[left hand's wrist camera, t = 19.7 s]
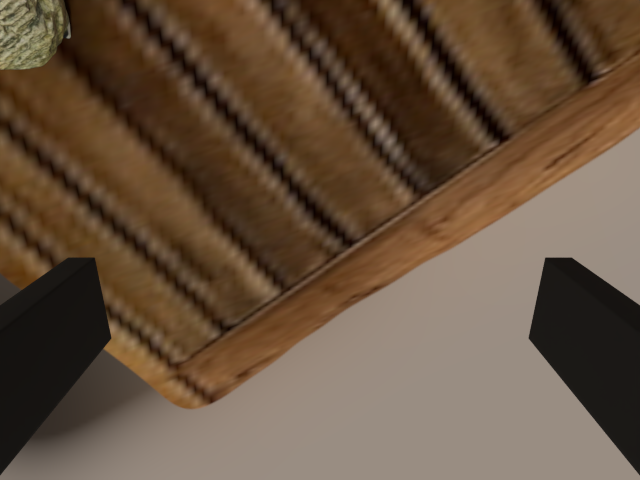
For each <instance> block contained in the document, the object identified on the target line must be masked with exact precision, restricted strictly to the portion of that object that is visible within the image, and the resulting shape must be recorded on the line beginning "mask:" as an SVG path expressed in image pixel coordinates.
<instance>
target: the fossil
mask: <svg viewBox="0 0 640 480" xmlns="http://www.w3.org/2000/svg"><path fill="white" fill-rule="evenodd" d="M70 37H71V33H70V23H69V17H68V14H67V11H66V8H65V3H64V0H0V70H3V69H18V70H19V69H30V68H34V67H41V66H43V65H45V64H46V63H47V62H48V61H49V59H50V58H51V57H52V56H53V55H54V54H55V53H56V50H57V46H58V45H59V44H60V43H61V42H62V39H63V38H70Z"/></svg>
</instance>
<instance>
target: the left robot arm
mask: <svg viewBox="0 0 640 480" xmlns="http://www.w3.org/2000/svg"><path fill="white" fill-rule="evenodd" d="M110 339H111V334H110V329H109V324H108V320H107V315H106V310H105V305H104V300H103V296H102V291H101V286H100V281H99V276H98V271H97V267H96V262H95V258H67V259H66V260H64V261H63V262H61V263H60V264H59V265H57V266H56V267H54V268H53V269H51V270H50V271H49V272H47V273H46V274H44V275H43V276H41V277H40V278H39V279H37V280H36V281H34V282H33V283H31V284H30V285H29V286H27V287H26V288H24V289H23V290H21V291H20V292H19V293H17V294H16V295H14V296H13V297H12V298H10V299H9V300H7V301H6V302H4V303H3V304H2V305H0V475H1V474H2V472H3V471H4V470H5V469H6V467H7V466H8V465H9V464H10V463H11V461H12V460H13V459H14V458H15V456H16V455H17V454H18V453H19V451H20V450H21V449H22V448H23V446H24V445H25V444H26V443H27V442H28V440H29V439H30V438H31V437H32V435H33V434H34V433H35V432H36V431H37V429H38V428H39V427H40V425H41V424H42V423H43V422H44V421H45V419H46V418H47V417H48V416H49V414H50V413H51V412H52V411H53V410H54V408H55V407H56V406H57V405H58V403H59V402H60V401H61V400H62V399H63V397H64V396H65V395H66V393H67V392H68V391H69V390H70V389H71V387H72V386H73V385H74V384H75V382H76V381H77V380H78V379H79V378H80V376H81V375H82V374H83V373H84V371H85V370H86V369H87V368H88V366H89V365H90V364H91V363H92V362H93V360H94V359H95V358H96V357H97V355H98V354H99V353H100V352H101V350H102V349H103V348H104V347H105V346H106V344H107V343H108V342H109V341H110ZM529 339H530V341H531V342H532V343H533V344H534V346H535V347H536V348H537V349H538V350H539V352H540V353H541V354H542V355H543V357H544V358H545V359H546V360H547V362H548V363H549V364H550V365H551V366H552V368H553V369H554V370H555V371H556V373H557V374H558V375H559V376H560V378H561V379H562V380H563V381H564V383H565V384H566V385H567V386H568V387H569V389H570V390H571V391H572V392H573V394H574V395H575V396H576V397H577V399H578V400H579V401H580V402H581V403H582V405H583V406H584V407H585V408H586V410H587V411H588V412H589V413H590V415H591V416H592V417H593V418H594V419H595V421H596V422H597V423H598V424H599V426H600V427H601V428H602V429H603V430H604V432H605V433H606V434H607V435H608V437H609V438H610V439H611V440H612V442H613V443H614V444H615V445H616V447H617V448H618V449H619V450H620V451H621V453H622V454H623V455H624V456H625V458H626V459H627V460H628V461H629V463H630V464H631V465H632V466H633V467H634V469H635V470H636V471H637V472H638V474H639V475H640V305H638V304H637V303H636V302H634V301H633V300H631V299H630V298H628V297H627V296H626V295H624V294H623V293H621V292H620V291H619V290H617V289H616V288H614V287H613V286H611V285H610V284H609V283H607V282H606V281H604V280H603V279H601V278H600V277H599V276H597V275H596V274H594V273H593V272H591V271H590V270H589V269H587V268H586V267H584V266H583V265H581V264H580V263H579V262H577V261H576V260H574V259H573V258H545V262H544V267H543V271H542V276H541V281H540V286H539V291H538V296H537V300H536V305H535V310H534V315H533V320H532V324H531V329H530V334H529Z"/></svg>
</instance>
